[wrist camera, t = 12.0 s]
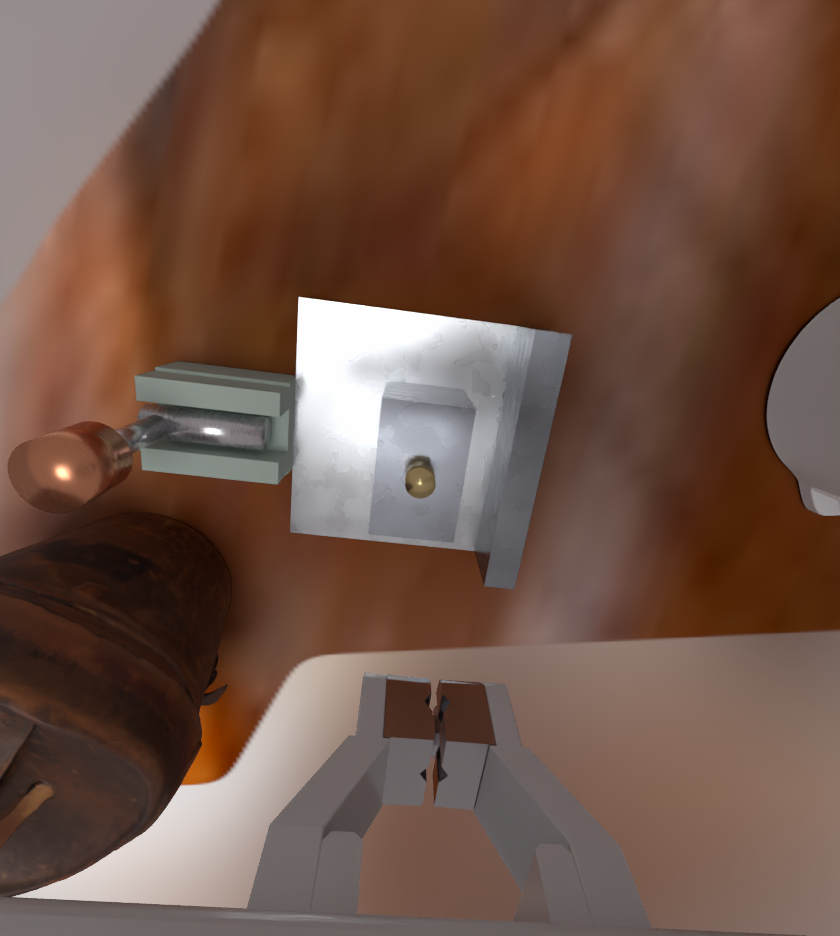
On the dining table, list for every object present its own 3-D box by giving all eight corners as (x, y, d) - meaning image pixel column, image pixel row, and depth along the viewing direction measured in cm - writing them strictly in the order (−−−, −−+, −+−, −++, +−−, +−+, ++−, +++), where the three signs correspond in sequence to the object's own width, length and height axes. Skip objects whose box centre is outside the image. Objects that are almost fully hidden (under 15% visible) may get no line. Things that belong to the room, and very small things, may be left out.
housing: (463, 389, 30) (480, 415, 23) (445, 501, 32) (456, 556, 25) (387, 379, 29) (380, 403, 22) (375, 493, 32) (365, 547, 25)
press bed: (549, 330, 30) (581, 335, 24) (503, 544, 35) (521, 589, 30) (304, 297, 29) (278, 295, 23) (295, 522, 34) (272, 565, 29)
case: (67, 691, 39) (-187, 983, 22) (-8, 471, 33) (-450, 648, 16) (278, 683, 40) (186, 961, 23) (245, 465, 33) (83, 628, 16)
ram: (271, 404, 28) (199, 457, 18) (270, 454, 29) (201, 527, 19) (144, 389, 28) (1, 435, 18) (147, 440, 29) (14, 508, 19)
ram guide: (300, 376, 31) (280, 389, 26) (297, 460, 33) (277, 487, 28) (179, 361, 30) (134, 371, 25) (183, 447, 32) (142, 473, 27)
